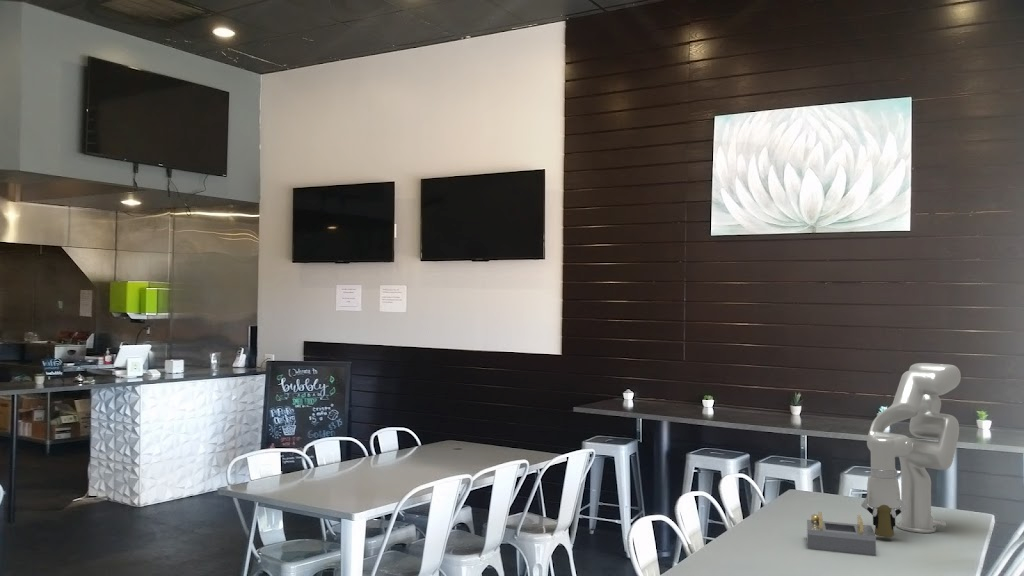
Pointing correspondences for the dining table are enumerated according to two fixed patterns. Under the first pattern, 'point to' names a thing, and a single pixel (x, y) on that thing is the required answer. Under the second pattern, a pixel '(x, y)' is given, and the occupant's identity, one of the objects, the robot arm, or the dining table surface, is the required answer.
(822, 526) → the grey slotted box
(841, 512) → the dining table surface
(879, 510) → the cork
